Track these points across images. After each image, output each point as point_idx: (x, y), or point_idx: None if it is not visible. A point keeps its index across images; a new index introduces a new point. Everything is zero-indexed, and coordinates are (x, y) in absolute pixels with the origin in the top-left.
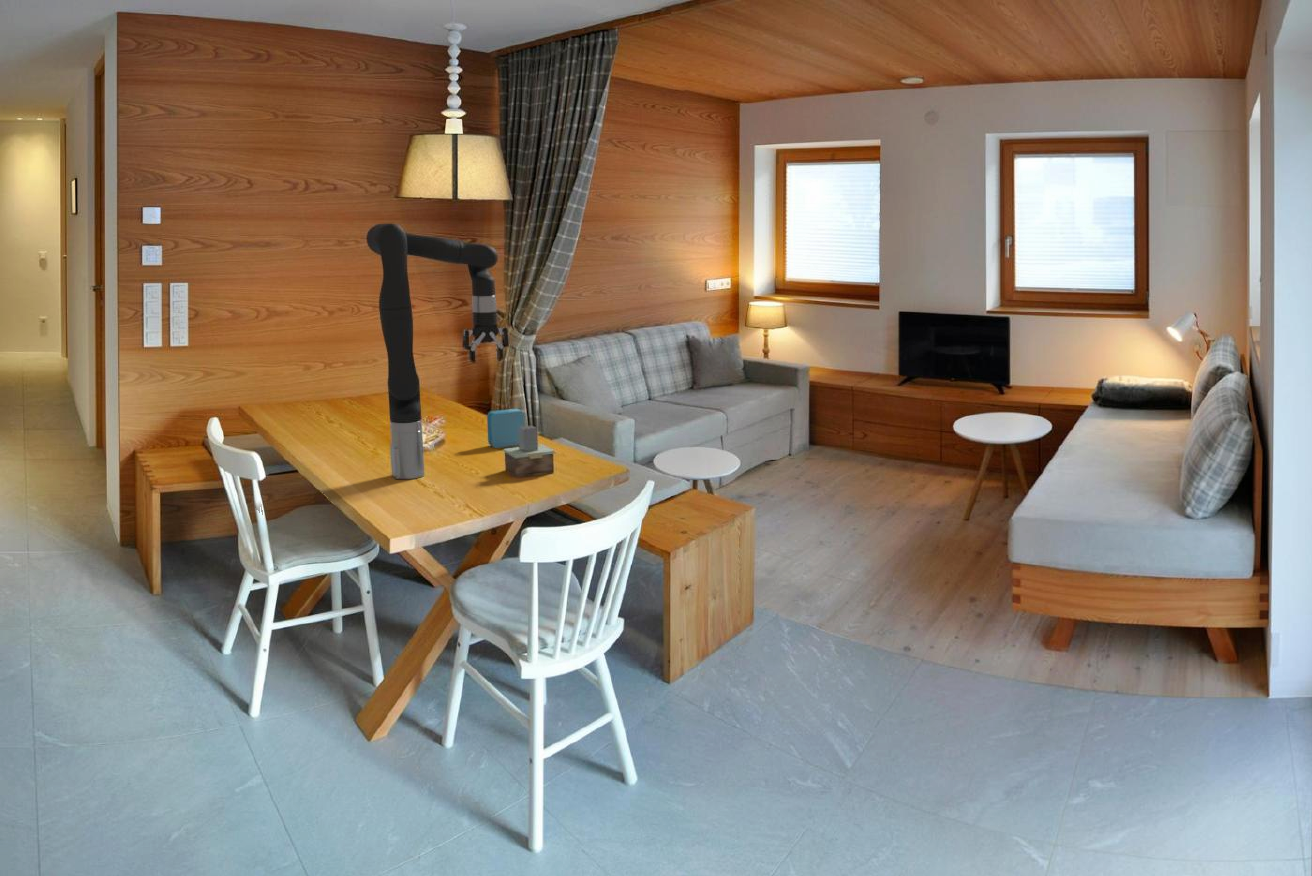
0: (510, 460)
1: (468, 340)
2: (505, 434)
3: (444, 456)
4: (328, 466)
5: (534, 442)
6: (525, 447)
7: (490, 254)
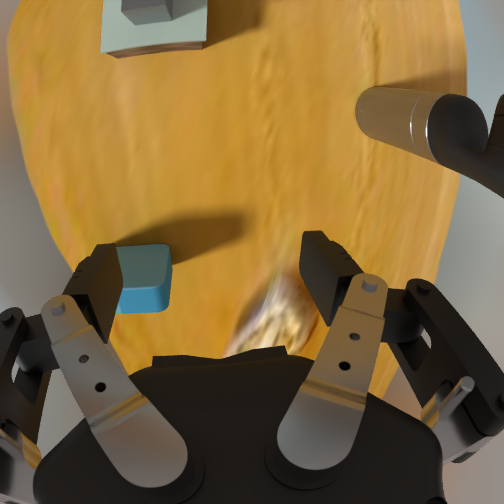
0: None
1: (449, 337)
2: (137, 258)
3: (276, 219)
4: (432, 236)
5: None
6: None
7: None
